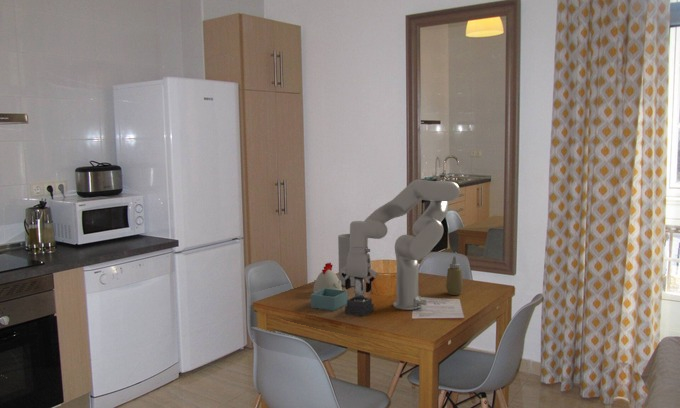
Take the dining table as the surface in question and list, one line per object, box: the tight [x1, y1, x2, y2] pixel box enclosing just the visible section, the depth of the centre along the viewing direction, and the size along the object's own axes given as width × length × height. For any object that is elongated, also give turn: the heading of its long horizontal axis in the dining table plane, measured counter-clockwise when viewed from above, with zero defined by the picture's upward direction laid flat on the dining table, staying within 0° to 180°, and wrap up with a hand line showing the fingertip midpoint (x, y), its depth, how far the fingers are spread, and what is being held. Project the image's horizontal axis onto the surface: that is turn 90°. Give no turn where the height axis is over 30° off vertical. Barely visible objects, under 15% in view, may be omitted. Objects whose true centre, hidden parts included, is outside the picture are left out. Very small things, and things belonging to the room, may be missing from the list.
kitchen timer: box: [312, 262, 343, 294], centre depth 268 cm, size 14×14×15 cm
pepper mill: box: [354, 277, 365, 302], centre depth 238 cm, size 5×5×13 cm
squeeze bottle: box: [445, 255, 464, 296], centre depth 265 cm, size 8×8×18 cm
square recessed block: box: [344, 296, 375, 317], centre depth 239 cm, size 9×9×6 cm
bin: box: [310, 288, 349, 312], centre depth 249 cm, size 12×12×6 cm
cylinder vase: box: [337, 233, 355, 288], centre depth 286 cm, size 12×12×25 cm
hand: (358, 290), depth 238 cm, fingers open, 9 cm apart
